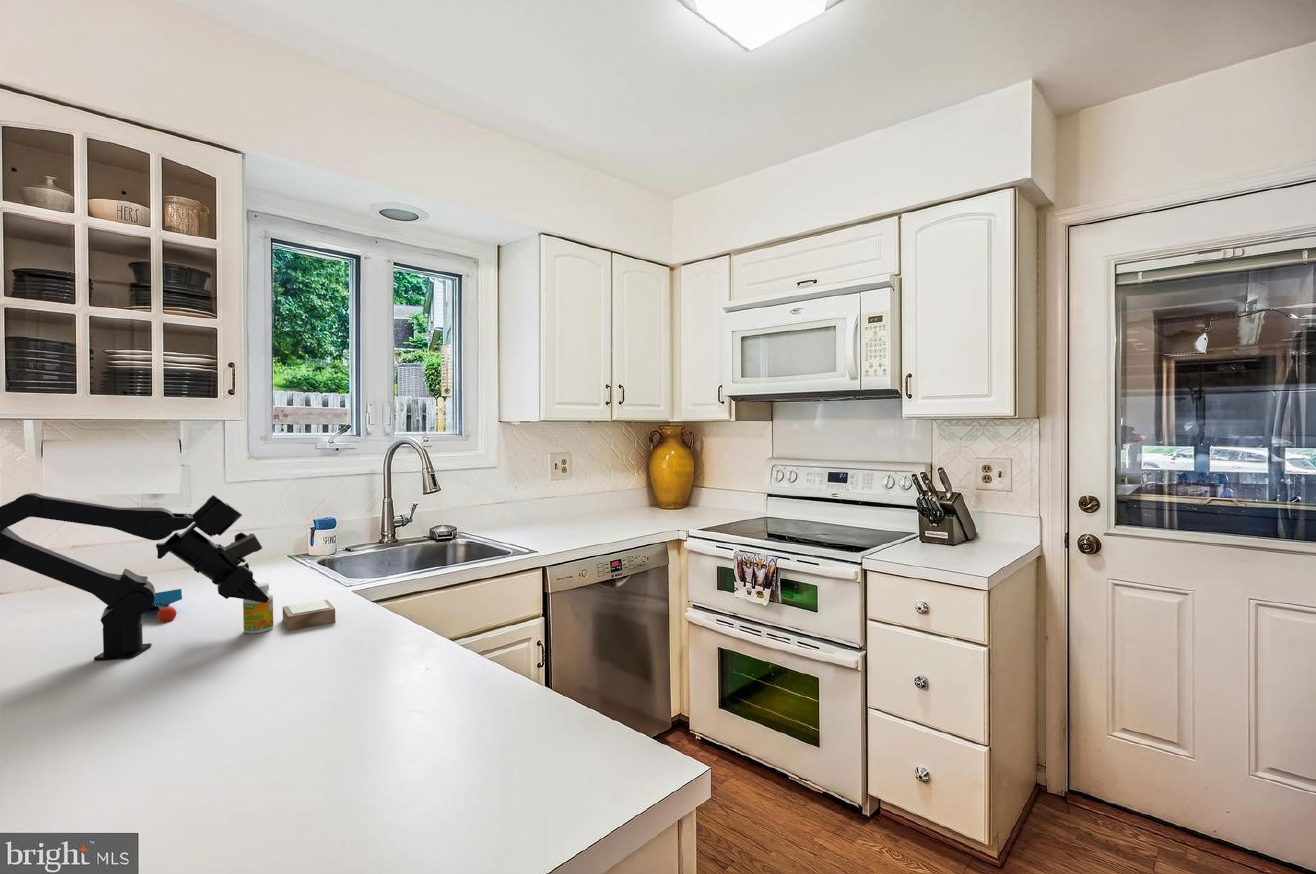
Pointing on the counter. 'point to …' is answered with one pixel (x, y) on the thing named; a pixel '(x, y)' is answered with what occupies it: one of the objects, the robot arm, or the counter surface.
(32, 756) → the counter surface
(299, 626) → the base brick
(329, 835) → the counter surface
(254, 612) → the supplement bottle
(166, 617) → the lever
